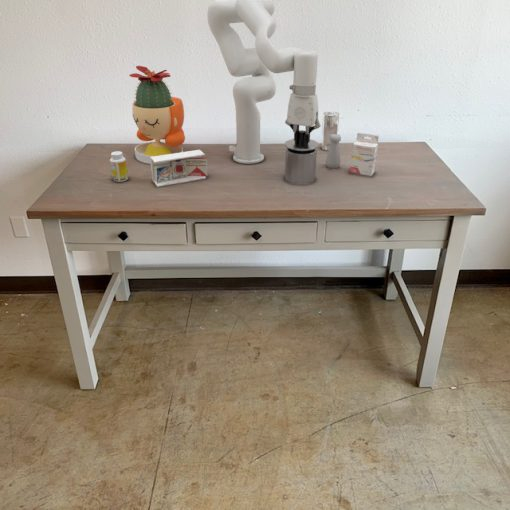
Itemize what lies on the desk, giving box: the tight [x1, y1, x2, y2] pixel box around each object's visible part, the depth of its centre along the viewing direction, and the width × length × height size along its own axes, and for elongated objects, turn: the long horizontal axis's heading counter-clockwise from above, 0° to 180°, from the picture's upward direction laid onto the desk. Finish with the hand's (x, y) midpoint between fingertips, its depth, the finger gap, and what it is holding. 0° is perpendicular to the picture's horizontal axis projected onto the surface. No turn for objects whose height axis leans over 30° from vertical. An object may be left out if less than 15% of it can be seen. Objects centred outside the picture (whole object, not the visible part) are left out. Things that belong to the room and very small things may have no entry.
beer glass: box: [321, 111, 340, 152], centre depth 205 cm, size 7×7×15 cm
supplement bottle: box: [109, 150, 129, 183], centre depth 175 cm, size 6×6×10 cm
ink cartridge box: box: [349, 132, 380, 177], centre depth 180 cm, size 9×5×15 cm, turn 65°
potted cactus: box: [129, 65, 186, 165], centre depth 192 cm, size 22×22×35 cm
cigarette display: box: [150, 149, 208, 188], centre depth 176 cm, size 20×6×9 cm, turn 115°
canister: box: [284, 147, 318, 185], centre depth 176 cm, size 11×11×12 cm
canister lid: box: [284, 129, 320, 151], centre depth 171 cm, size 12×12×6 cm
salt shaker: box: [325, 133, 342, 169], centre depth 186 cm, size 6×6×13 cm
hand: (301, 143), depth 171 cm, fingers closed on canister lid, 2 cm apart
